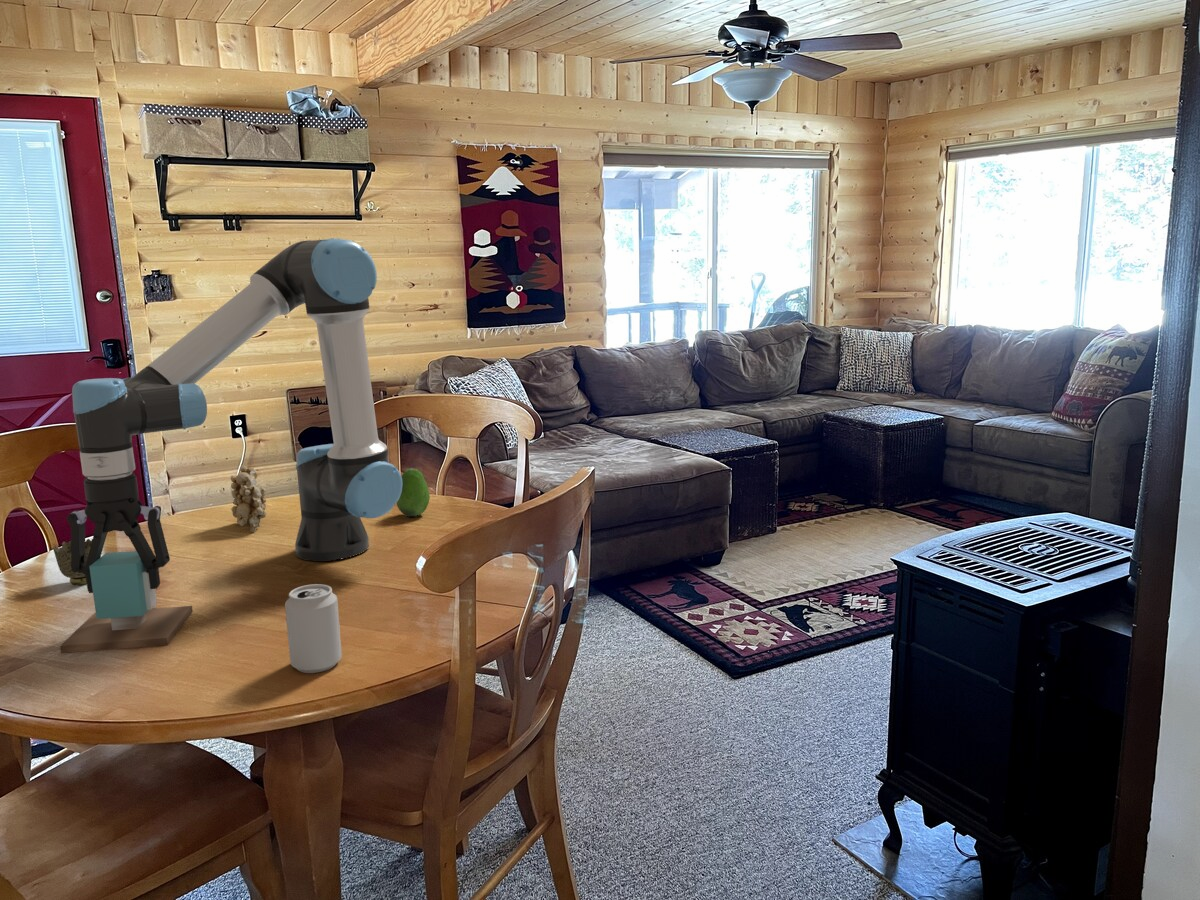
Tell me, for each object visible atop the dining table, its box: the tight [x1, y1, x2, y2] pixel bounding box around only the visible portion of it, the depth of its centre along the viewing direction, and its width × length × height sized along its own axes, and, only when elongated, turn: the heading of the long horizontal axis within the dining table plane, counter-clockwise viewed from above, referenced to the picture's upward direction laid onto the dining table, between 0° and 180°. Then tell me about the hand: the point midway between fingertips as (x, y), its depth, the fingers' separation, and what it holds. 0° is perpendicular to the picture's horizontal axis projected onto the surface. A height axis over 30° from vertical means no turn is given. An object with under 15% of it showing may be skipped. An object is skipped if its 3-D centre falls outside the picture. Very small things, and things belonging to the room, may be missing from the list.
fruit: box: [395, 467, 431, 517], centre depth 213 cm, size 8×8×12 cm
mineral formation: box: [230, 465, 267, 533], centre depth 205 cm, size 8×13×15 cm, turn 31°
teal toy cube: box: [89, 550, 158, 619], centre depth 145 cm, size 7×7×9 cm
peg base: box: [59, 605, 194, 654], centre depth 146 cm, size 16×14×7 cm
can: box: [284, 583, 342, 674], centre depth 133 cm, size 8×8×12 cm
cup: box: [52, 538, 93, 586], centre depth 170 cm, size 8×7×8 cm
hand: (127, 608), depth 146 cm, fingers closed on teal toy cube, 7 cm apart
